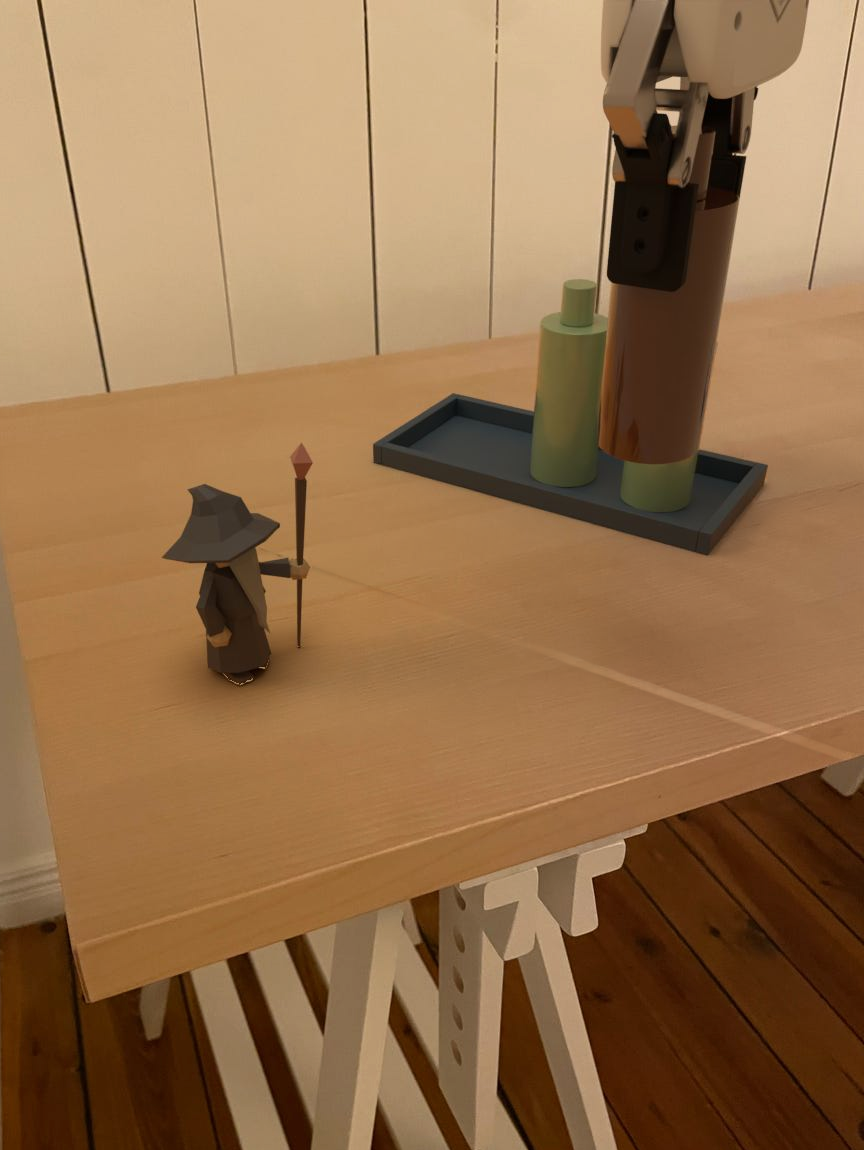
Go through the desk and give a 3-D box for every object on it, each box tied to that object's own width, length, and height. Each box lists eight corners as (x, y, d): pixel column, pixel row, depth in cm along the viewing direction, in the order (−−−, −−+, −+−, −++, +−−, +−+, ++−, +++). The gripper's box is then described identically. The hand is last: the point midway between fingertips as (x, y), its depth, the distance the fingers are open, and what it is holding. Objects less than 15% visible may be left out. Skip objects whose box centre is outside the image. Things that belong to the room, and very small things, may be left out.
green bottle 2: (700, 491, 71) (735, 296, 63) (675, 519, 67) (709, 317, 60) (635, 475, 73) (661, 284, 65) (608, 501, 70) (632, 304, 62)
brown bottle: (714, 434, 49) (766, 123, 41) (677, 473, 45) (726, 145, 37) (620, 414, 51) (653, 116, 43) (579, 450, 48) (606, 135, 40)
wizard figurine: (248, 714, 53) (222, 509, 46) (166, 681, 55) (130, 482, 48) (335, 634, 58) (324, 441, 51) (258, 608, 61) (237, 420, 54)
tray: (762, 491, 72) (768, 464, 70) (706, 563, 64) (711, 534, 63) (452, 416, 84) (452, 392, 82) (373, 469, 76) (372, 443, 75)
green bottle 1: (607, 468, 74) (629, 279, 66) (579, 493, 71) (599, 298, 63) (548, 453, 76) (562, 269, 68) (518, 477, 73) (530, 287, 65)
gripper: (783, -369, 25) (682, 344, 36) (923, -296, 36) (814, 231, 47) (516, -326, 29) (497, 312, 40) (718, -271, 40) (661, 214, 51)
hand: (670, 263), depth 43 cm, fingers closed on brown bottle, 4 cm apart
